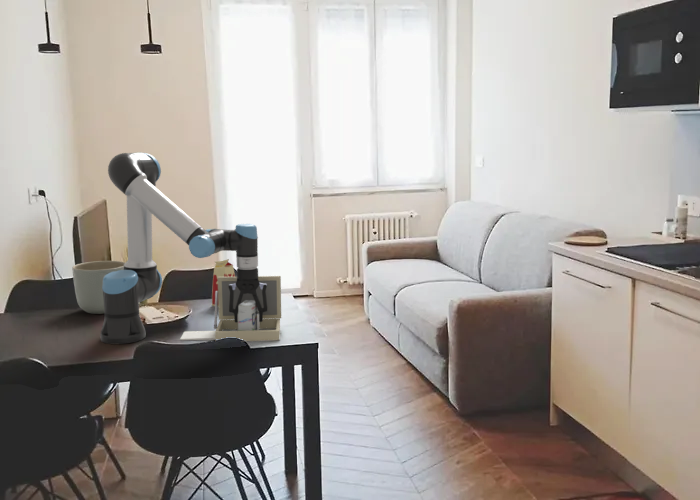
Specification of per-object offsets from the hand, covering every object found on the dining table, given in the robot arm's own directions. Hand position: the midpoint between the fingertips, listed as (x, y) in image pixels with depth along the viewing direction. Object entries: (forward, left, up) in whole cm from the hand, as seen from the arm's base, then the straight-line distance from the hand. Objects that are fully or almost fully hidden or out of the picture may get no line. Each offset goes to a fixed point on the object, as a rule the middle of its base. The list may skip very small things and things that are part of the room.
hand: (248, 330), depth 241 cm
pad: (-17, -1, -1) cm, 17 cm away
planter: (-62, +39, -2) cm, 73 cm away
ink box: (0, 0, -2) cm, 2 cm away
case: (0, 0, -1) cm, 1 cm away
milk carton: (-13, +45, -2) cm, 47 cm away
